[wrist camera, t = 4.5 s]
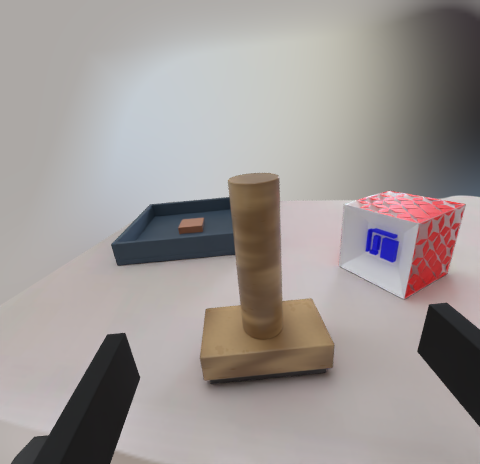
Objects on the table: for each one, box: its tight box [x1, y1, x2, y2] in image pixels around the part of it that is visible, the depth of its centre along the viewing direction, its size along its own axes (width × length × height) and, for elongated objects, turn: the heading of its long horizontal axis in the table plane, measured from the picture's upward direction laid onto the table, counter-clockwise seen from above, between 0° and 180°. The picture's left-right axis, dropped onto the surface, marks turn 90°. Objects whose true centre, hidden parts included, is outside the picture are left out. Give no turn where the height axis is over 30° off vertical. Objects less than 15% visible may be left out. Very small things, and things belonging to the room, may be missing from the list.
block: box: [178, 218, 205, 234], centre depth 45 cm, size 4×4×1 cm
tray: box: [111, 197, 235, 265], centre depth 45 cm, size 19×19×3 cm
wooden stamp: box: [200, 173, 334, 384], centre depth 18 cm, size 9×5×14 cm, turn 93°
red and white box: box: [339, 191, 466, 299], centre depth 28 cm, size 8×8×8 cm
